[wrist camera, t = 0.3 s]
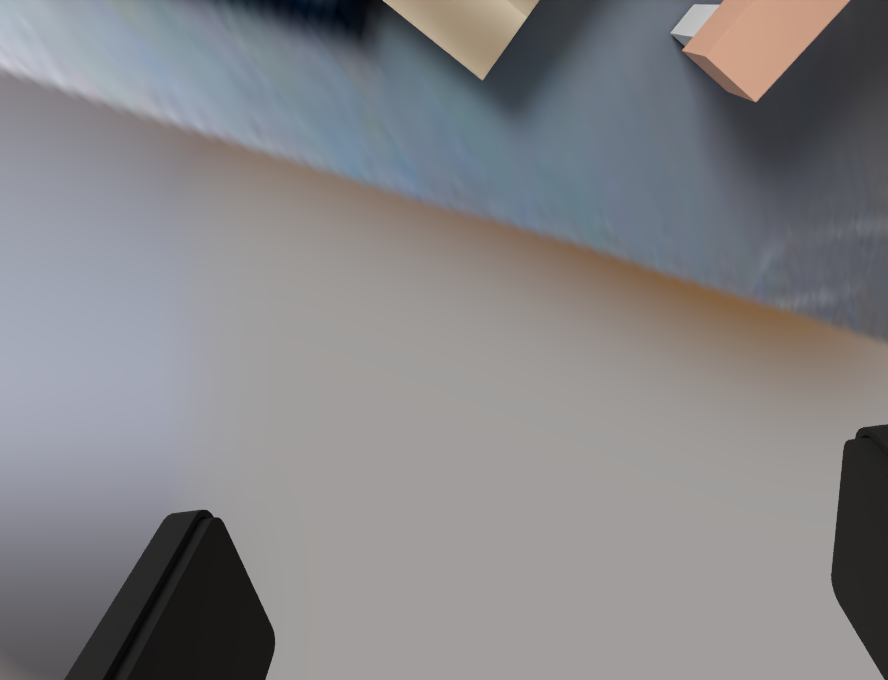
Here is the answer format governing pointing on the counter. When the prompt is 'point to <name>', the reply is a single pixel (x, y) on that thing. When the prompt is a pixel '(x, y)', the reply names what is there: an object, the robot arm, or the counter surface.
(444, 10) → the beige flat slotted block
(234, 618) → the robot arm
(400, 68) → the counter surface
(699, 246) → the counter surface
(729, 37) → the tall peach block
